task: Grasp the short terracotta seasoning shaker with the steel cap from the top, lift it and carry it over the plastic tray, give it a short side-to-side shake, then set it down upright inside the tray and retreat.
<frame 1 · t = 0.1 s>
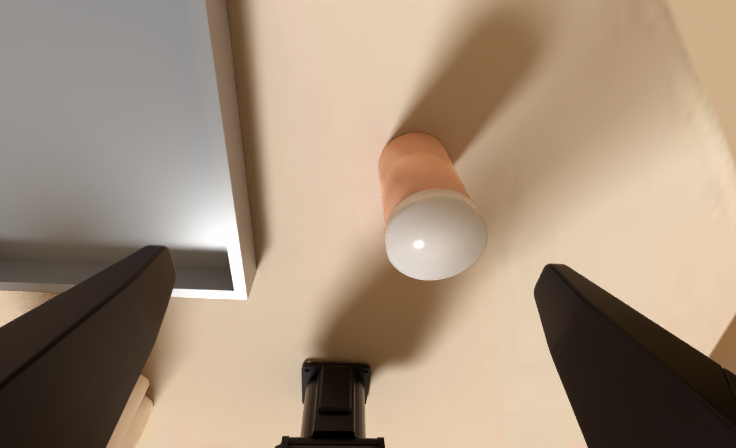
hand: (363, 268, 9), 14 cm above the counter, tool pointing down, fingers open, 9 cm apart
tray: (79, 143, 22), on the counter
shaker: (413, 165, 23), on the counter
vase: (108, 380, 36), on the counter
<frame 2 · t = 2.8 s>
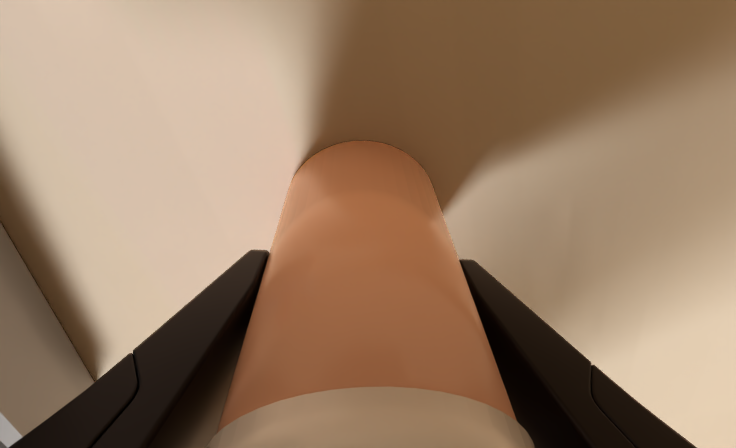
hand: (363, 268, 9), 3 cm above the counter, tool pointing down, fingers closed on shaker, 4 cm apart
shaker: (361, 210, 11), on the counter, touching gripper
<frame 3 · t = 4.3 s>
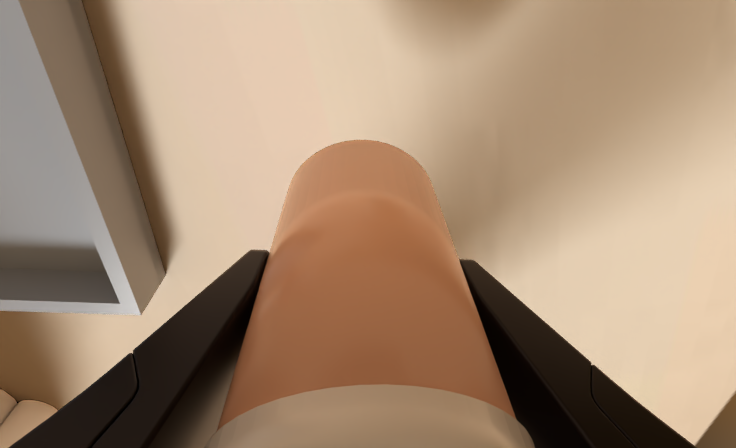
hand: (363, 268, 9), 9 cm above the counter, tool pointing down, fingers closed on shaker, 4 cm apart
shaker: (361, 210, 11), point 7 cm above the counter, touching gripper
vase: (8, 410, 29), on the counter
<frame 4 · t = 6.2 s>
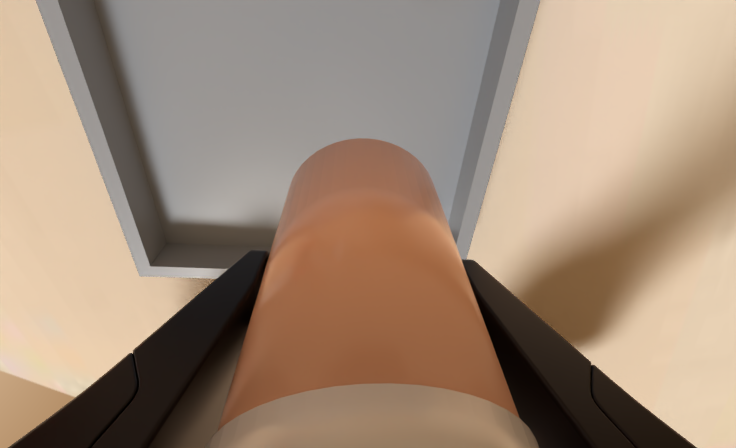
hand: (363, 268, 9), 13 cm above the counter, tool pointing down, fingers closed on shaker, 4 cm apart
tray: (304, 108, 19), on the counter
shaker: (362, 208, 11), point 10 cm above the counter, touching gripper
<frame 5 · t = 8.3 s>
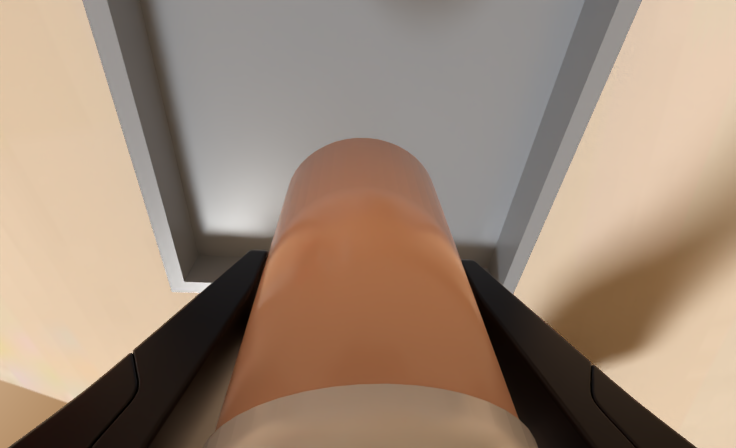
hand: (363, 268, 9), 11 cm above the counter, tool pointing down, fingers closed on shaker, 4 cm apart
tray: (357, 114, 18), on the counter
shaker: (361, 208, 11), point 8 cm above the counter, touching gripper
when the fingers open (4 cm above the counter, at t = 9.7 s): shaker stays where it is, resting on tray.
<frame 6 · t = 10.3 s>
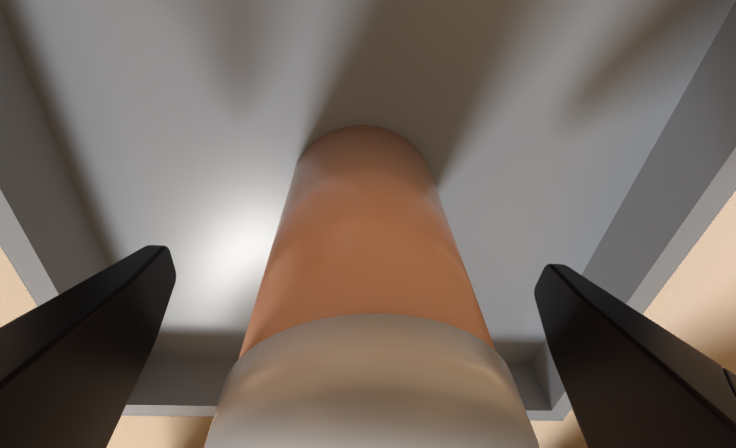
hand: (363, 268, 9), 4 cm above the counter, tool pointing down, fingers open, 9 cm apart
tray: (359, 181, 12), on the counter
shaker: (362, 192, 12), point 1 cm above the counter, touching tray
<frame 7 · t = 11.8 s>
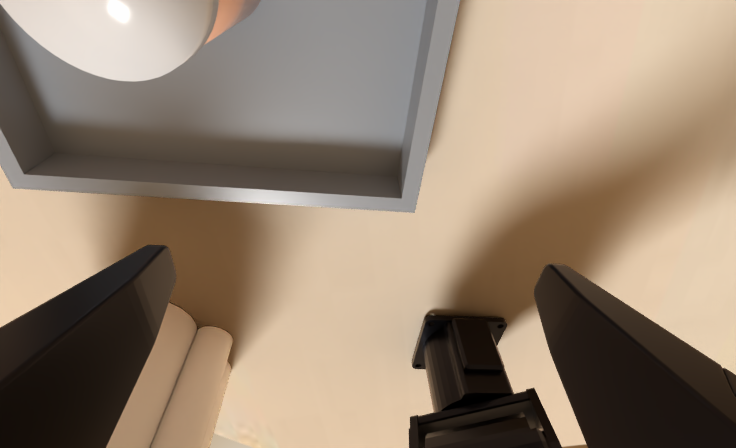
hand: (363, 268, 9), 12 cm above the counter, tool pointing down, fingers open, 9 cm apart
vase: (182, 338, 29), on the counter
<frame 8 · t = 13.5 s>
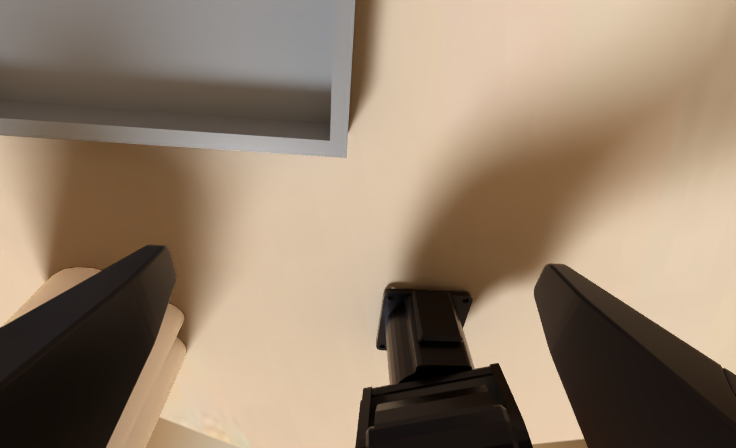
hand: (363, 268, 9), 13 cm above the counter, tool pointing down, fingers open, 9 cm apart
vase: (131, 315, 28), on the counter
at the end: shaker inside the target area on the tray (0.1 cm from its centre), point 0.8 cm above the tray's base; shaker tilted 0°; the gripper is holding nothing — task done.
